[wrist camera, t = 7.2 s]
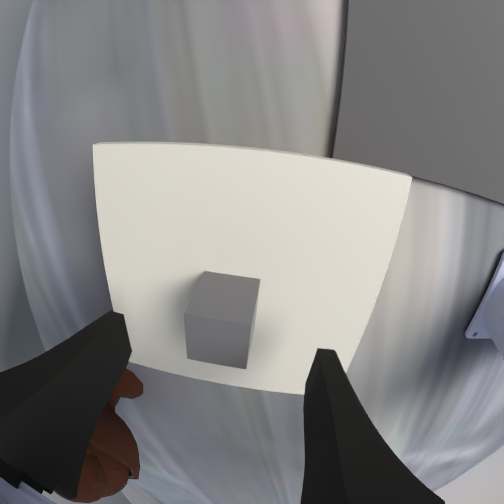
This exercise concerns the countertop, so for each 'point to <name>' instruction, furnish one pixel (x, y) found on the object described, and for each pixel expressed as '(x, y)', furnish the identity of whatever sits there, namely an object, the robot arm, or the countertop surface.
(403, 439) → the countertop surface
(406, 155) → the mat
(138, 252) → the cover sheet
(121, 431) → the ice cream bowl
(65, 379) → the robot arm
